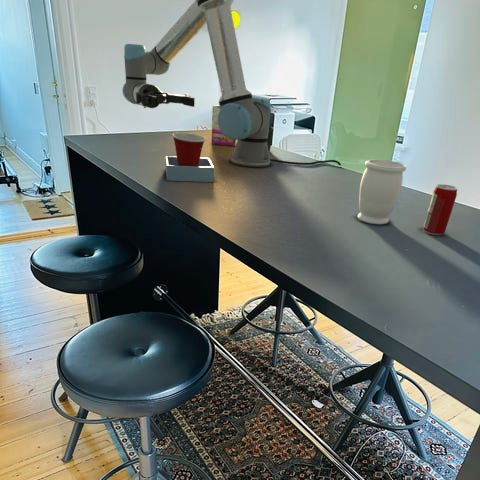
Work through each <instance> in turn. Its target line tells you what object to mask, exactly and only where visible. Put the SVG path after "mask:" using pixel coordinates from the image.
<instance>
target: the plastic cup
mask: <svg viewBox="0 0 480 480" xmlns="http://www.w3.org/2000/svg"><path fill="white" fill-rule="evenodd" d="M172 137H173V142H174V147H175V154H176V157H177V162H178V166H194V167H198V164H199V160H200V158H201V155H202V150H203V146H204V143H205V141H206V140H207V138H206V137H205V136H203V135H201V134H196V133H191V132H182V131H181V132H173V133H172Z"/></svg>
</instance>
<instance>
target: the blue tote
mask: <svg viewBox="0 0 480 480" xmlns="http://www.w3.org/2000/svg"><path fill="white" fill-rule="evenodd" d="M165 176H166V181H168V182H169V181H171V182H196V183H197V182H198V183H200V182H201V183H214V181H215V166H214V165H213V163H212V161H211V159H210V157H200V160H199V164H198V167H194V166H178V162H177V156H171V155H170V156H169V155H165Z"/></svg>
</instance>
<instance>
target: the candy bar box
mask: <svg viewBox="0 0 480 480" xmlns="http://www.w3.org/2000/svg"><path fill="white" fill-rule="evenodd" d="M219 112H220V106H219V104H214V105H212V114H211V115H212V119H211V145H215V146H216V145H217V146H226V147H235V146H236V143H237V140H233V139H229V138H228V137H226V136H225V135H224V134H223V133H222V132H221V130H220V128H219V125H218V114H219Z"/></svg>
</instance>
